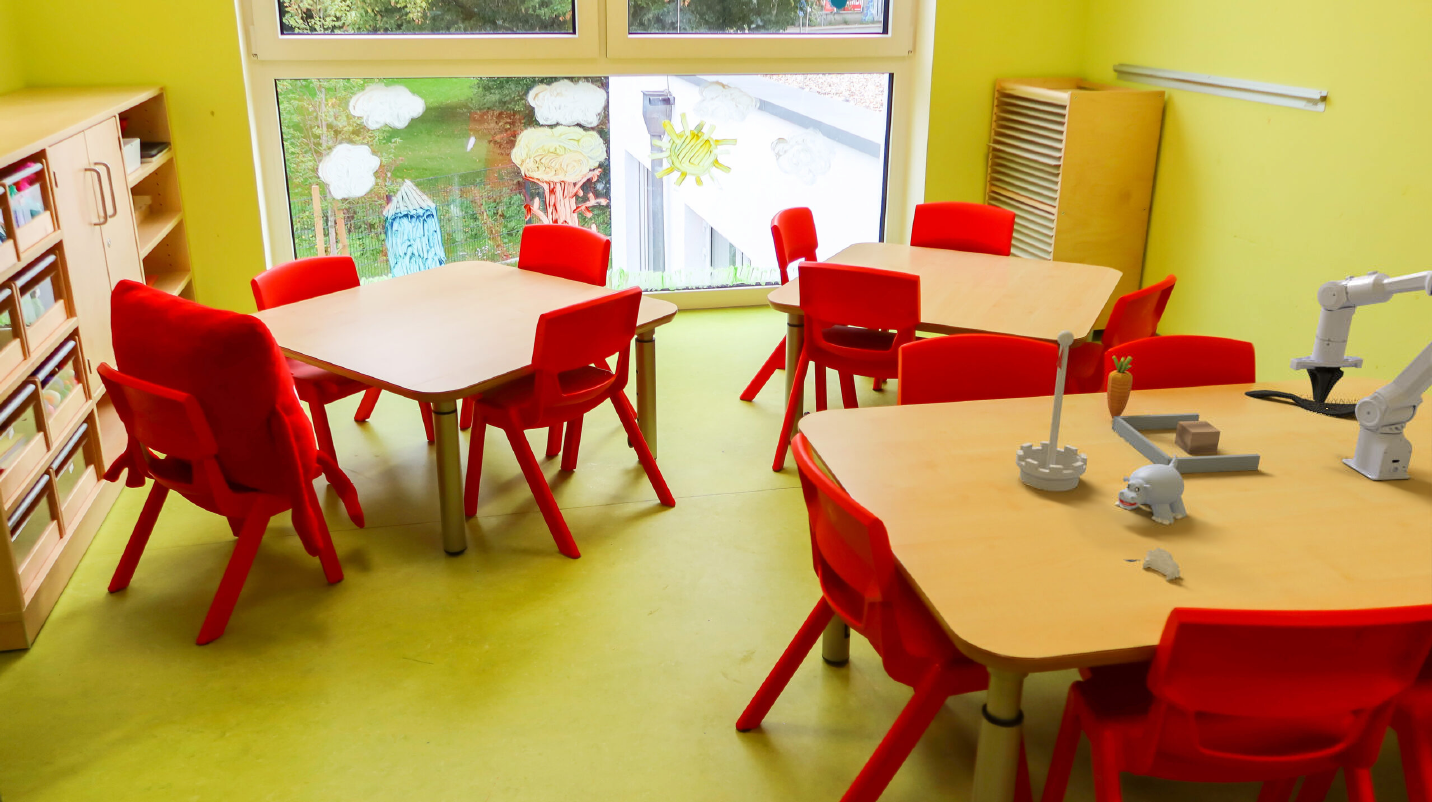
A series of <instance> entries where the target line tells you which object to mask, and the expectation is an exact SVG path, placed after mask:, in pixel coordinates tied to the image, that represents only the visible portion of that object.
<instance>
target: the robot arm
mask: <svg viewBox="0 0 1432 802" xmlns="http://www.w3.org/2000/svg"><path fill="white" fill-rule="evenodd" d="M1419 291H1425V292H1426V295H1427V296H1429V297H1432V270H1425V271H1424V270H1423V271H1419V272H1415V273H1414V272H1413V273H1409V274H1405V275H1400V276H1396V277H1391V276H1389V275H1388V274H1387V273H1385V272H1379V271H1378V270H1374V271H1373V270H1371V271H1368V272H1366V275H1361V276H1357V277H1355V276H1354V275H1348V276H1346V277H1345V279H1340V280H1329V281H1327V282H1324V283H1322V284H1321V285H1320V287H1319V288H1318V290H1317V292H1316V293H1317V294H1316V295H1317V302H1318V303H1319V305H1320V306H1321V309H1320V313H1319V317H1318V323H1317V328H1316V334H1315V338H1314V344H1313V348H1312V353H1311V354H1310V355H1307V356H1302V357H1296V358H1295V357H1293V358H1291V359H1290V364H1289V368H1290V369H1291V370H1294V371H1300V370H1306V371H1307V374H1308V377H1309V380H1310V385H1311V390H1312V392H1311V393H1312V400H1313V401H1316V402H1318V403H1326V402H1327V400H1328V399H1327V398H1328V397H1329V395H1330V394H1331V391H1332V390H1333V388H1334V387H1335V385H1336V384H1337V383H1338V382H1339V381H1340V380H1341V379H1342V378H1343V377H1344V373H1345V371H1344V370H1342V369H1341V368H1355V369H1362V368H1363V363H1364V358H1362V357H1359V356H1356V355H1355V356H1353V355H1351V356H1350V355H1345V353H1346V349H1347V345H1348V340H1349V333H1350V330H1351V324H1352V320H1353V317H1354V315H1355V314H1356V309H1357V308H1358V307H1362V306H1370V305H1375V304H1383V303H1387V302H1389V301H1390V300H1391V299H1392V298H1393V296H1394V295H1396V294H1403V293H1411V292H1419ZM1431 386H1432V340H1431V341H1430V342H1429V343H1428V344H1427V345H1426V346H1425V347H1424V348H1423V349H1422V350H1421V351H1420V352H1419V353H1418V354H1417V355H1416V356H1415V358H1414V359H1413V360H1411V362H1409V364H1407V366H1405V368H1404V369H1402V371H1401V372H1400V373H1399V374H1398V375H1396V377H1395V378H1393V380H1392V381H1391V382H1389V383H1388V384H1385V385H1383V386H1382V387H1379V388H1378V389H1376V390H1375V391H1374V392H1373V393H1372V394H1371V395H1368V396H1364V397H1362V398H1361V399H1359V400H1358V401H1359V402H1358V401H1357V405H1356V408H1355V414H1354V415H1355V417H1356V419H1357V421H1358V423H1359V425H1358V426H1360V427H1359V432H1358V437H1357V441H1356V445H1355V449H1354V454H1353V458H1343V459H1342V461H1341V462H1342V463H1344V464H1346V465H1347V466H1349V467H1351V468H1352V469H1353V470H1355V471H1357V472H1358V473H1360V474H1362V475H1363V476H1365V477H1367V478H1368V479H1369V480H1372V481H1380V480H1381V481H1383V480H1384V481H1385V480H1403V479H1406V480H1407V479H1410V478H1411V475H1409V474H1407V473H1408V469H1409V465H1410V463H1411V457H1412V452H1413V445H1412V443H1411V442H1410V441H1409V439H1408V438H1406V436H1405V434H1404V429H1406V426H1407V423H1409V422H1410V421H1412V420H1413V419H1414V418H1415V417H1416V414H1417V411H1418V408H1419V406H1420V405H1421V404H1422V403H1423V402H1424V400H1423V397H1422V395H1423V394H1424V393H1425V392H1426V391H1428V389H1429V388H1430V387H1431Z"/></svg>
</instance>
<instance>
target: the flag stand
mask: <svg viewBox="0 0 1432 802" xmlns="http://www.w3.org/2000/svg"><path fill="white" fill-rule="evenodd" d="M1056 340H1057V342H1058V344H1060V346H1059V355H1058V358H1057V361H1056V362H1055V365H1056V367H1057V371H1056V380H1055V388H1054V396H1053V397H1054V398H1053V404H1052V407H1053V408H1052V414H1051V416H1052V417H1051V423H1050V432H1049V440H1048V441H1047V440H1041V441H1040V446H1034V444H1033V443H1032V442H1026V443H1023V444H1021V445H1020V448H1019V449H1016V454H1015V465H1016V466H1017V467H1018V468H1019V470H1020V471H1019V479H1020V478H1021V479H1022V480H1023V481H1022V480H1021V479H1020V480H1021V481H1022V483H1024V482H1025V483H1026V484H1025V483H1024V484H1025V485H1027V484H1029V485H1031V486H1033V487H1032V488H1034V487H1035V489H1037V488H1039V489H1038V490H1041V489H1044V490H1043V491H1047V490H1048V492H1049V491H1050V492H1064V491H1065V492H1066V491H1069V490H1073V489H1076V487H1077V486H1078V485H1079V481H1080V476H1083V474H1085V473H1086V471H1087V463H1088V455H1087V454H1086V453H1082V452H1081V453H1079V454H1078V451H1079V450H1078V447H1075V446H1073V445H1069V444H1066V445H1064V448H1060V447H1058V442H1059V433H1060V426H1061V425H1060V424H1061V417H1062V416H1061V415H1062V407H1063V399H1064V391H1065V383H1066V374H1067V364H1068V357H1069V347H1070V346H1071V345H1072V344H1073V342H1074V340H1075V337H1074V334H1073V333H1072V332H1071V331H1070V330H1067V329H1066V330H1061V331H1060V332H1059V333H1058V334H1057V339H1056ZM1029 485H1028V486H1029ZM1031 486H1030V487H1031Z"/></svg>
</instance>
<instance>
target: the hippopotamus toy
mask: <svg viewBox="0 0 1432 802" xmlns="http://www.w3.org/2000/svg"><path fill="white" fill-rule="evenodd" d="M1172 456H1173V457H1174V459H1173V460H1172V461H1171V463H1170V465H1168V466H1167V465H1163V464H1154V463H1153V464H1148V465H1143V466H1141V467H1139V468H1137V469H1135V471H1133V472H1132V473H1131V475H1130V476H1129V477H1128V476H1124V477H1123V479H1122V480H1123V483H1125V482H1128V483H1126V488H1123V489H1121V490H1120V491H1119V492H1118V494H1117V501H1116V502H1115V505H1116V506H1117V507H1120V508H1121V509H1124V510H1128V511H1129V510H1130V511H1131V510H1133V509H1136V508H1138V507H1140V505H1145V504H1146V505H1150V507H1151V510H1152V513H1153V516H1151V520H1153V521H1155V522H1156V523H1159V524H1162V525H1167V526H1168V525H1170V524H1173V523H1174V522H1175V520H1174V518H1175V519H1176V520H1179V519H1181V518H1185V517H1188V516H1187V511H1186V508H1185V504H1184V501H1183V498H1182V495H1183V493H1184V491H1185V483H1184V479H1183V477H1182V475H1181V473H1179V472H1178V471H1177V470H1176V469H1175V468H1176V466H1177V462H1178V459H1177V457H1178V456H1177V454H1174V453H1172Z"/></svg>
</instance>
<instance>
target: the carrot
mask: <svg viewBox="0 0 1432 802" xmlns="http://www.w3.org/2000/svg"><path fill="white" fill-rule="evenodd" d="M1111 358H1112V360H1113V361H1114V364H1115V367H1116V370H1113V371H1111V372H1110V373H1109V375H1108V377H1107V378H1108V379H1107V389H1106V390H1107V391H1106V396H1107V397H1106V399H1107V407H1108V410H1109V411H1108V412H1109V415H1110V416H1111V419H1112V420H1113V417H1114V416H1122V414H1123V413H1124V411H1125V409H1126V407H1127V403H1128V401H1129V398H1130V395H1131V390H1132V385H1133V380H1134V379H1133V375H1132V373H1131V372H1129V371H1127V370H1129V369H1131V367H1132V365H1130V363H1131V362H1132V360H1133V357H1132V356H1127V358H1126V357H1124V356H1123V357H1121V359H1120V361H1119V360H1118V359H1117V357H1116V355H1113V356H1112V357H1111Z"/></svg>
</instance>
